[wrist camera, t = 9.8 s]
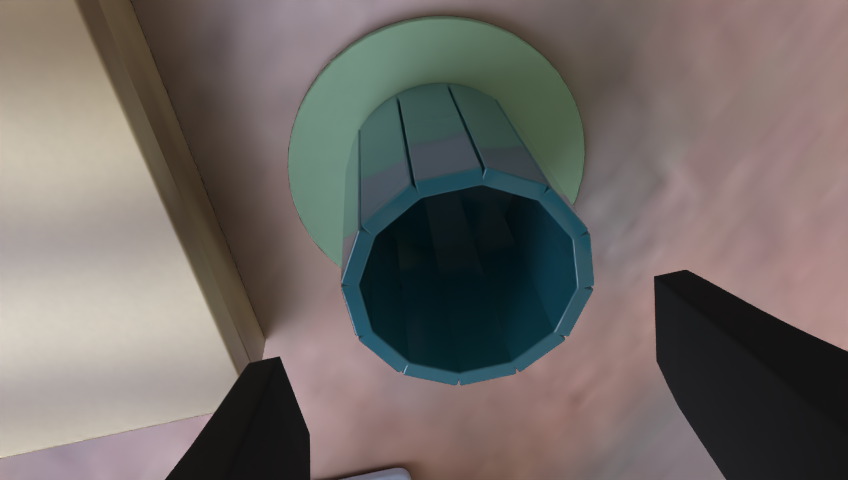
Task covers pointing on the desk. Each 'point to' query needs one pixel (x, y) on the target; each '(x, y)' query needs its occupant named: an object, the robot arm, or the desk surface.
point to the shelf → (104, 238)
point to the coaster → (412, 66)
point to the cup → (458, 239)
